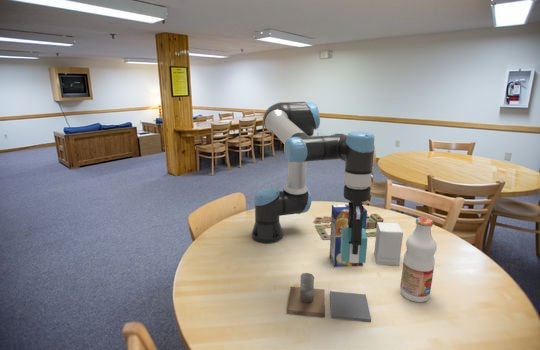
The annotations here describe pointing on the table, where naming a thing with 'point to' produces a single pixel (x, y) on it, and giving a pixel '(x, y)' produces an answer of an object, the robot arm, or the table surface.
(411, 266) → the fruit juice
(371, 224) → the pile of dominoes
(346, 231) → the teal block
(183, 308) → the table surface
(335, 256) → the juice carton
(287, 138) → the robot arm
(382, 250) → the supplement box
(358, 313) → the slate mat
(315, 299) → the post stand
